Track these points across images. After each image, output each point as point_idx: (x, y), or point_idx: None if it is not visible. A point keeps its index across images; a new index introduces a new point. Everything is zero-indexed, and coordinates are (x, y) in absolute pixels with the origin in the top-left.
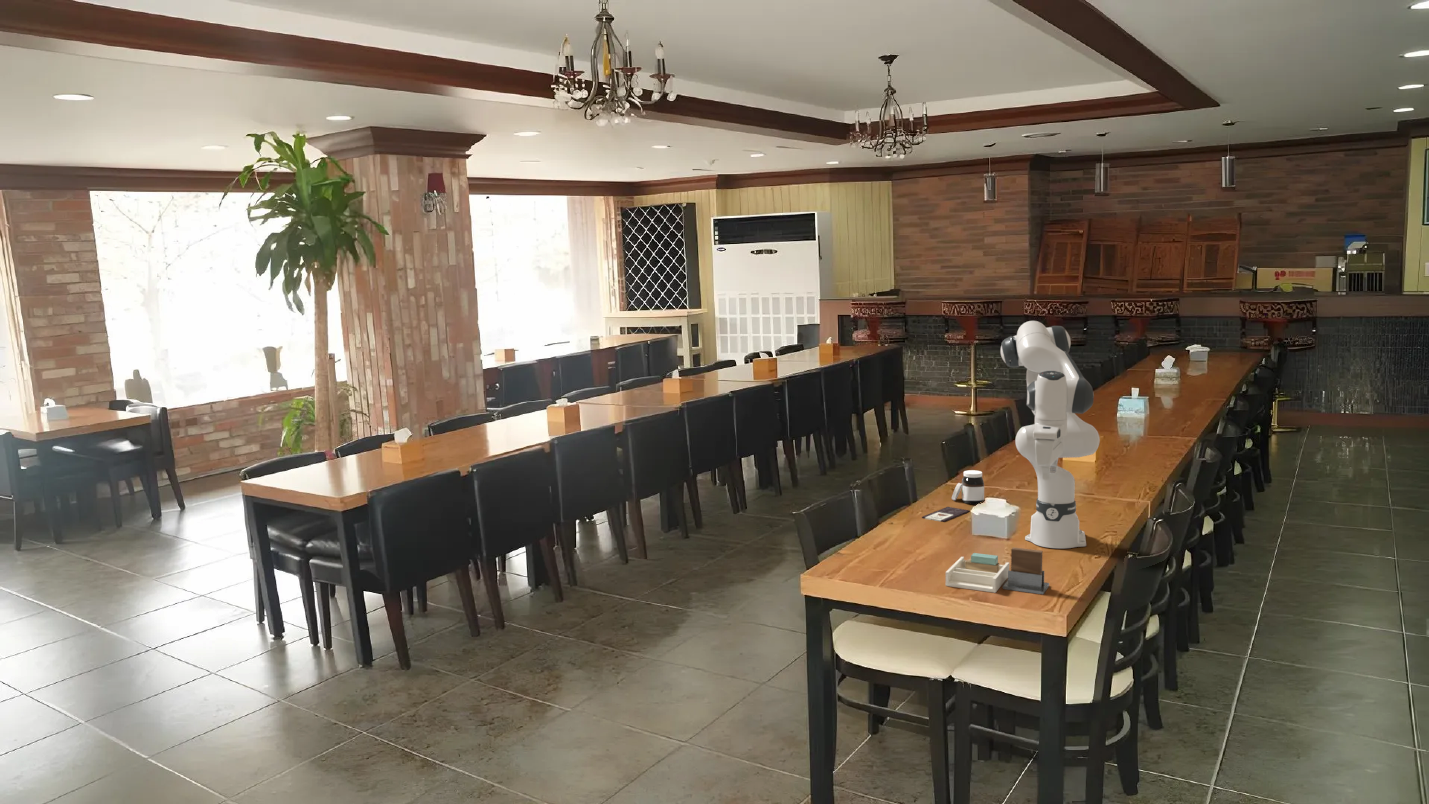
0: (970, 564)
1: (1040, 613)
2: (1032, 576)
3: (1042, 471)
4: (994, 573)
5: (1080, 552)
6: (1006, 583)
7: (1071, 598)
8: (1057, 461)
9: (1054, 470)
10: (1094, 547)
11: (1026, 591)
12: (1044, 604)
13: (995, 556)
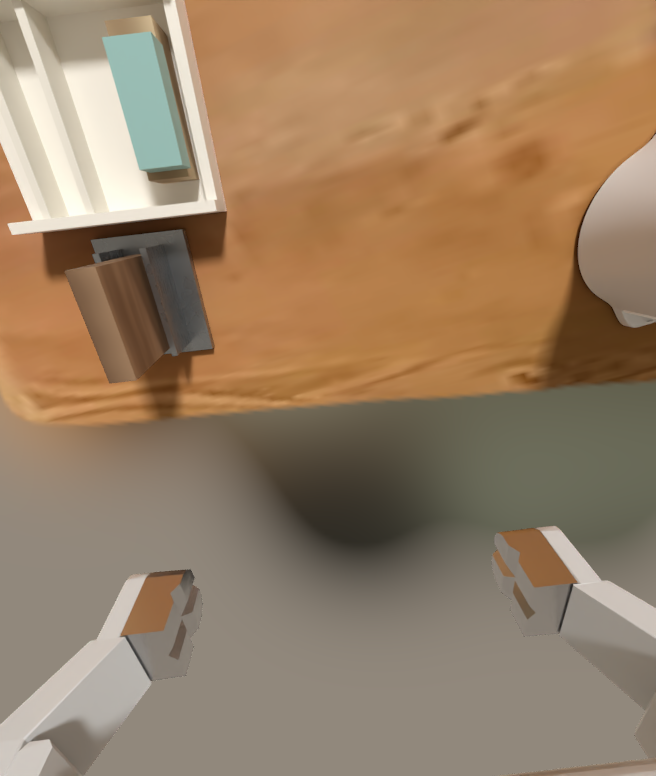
0: None
1: (4, 390)
2: None
3: (55, 674)
4: (83, 200)
5: (560, 328)
6: (123, 241)
7: (160, 416)
8: (642, 704)
9: (507, 587)
10: (621, 347)
11: None
12: (70, 379)
13: (166, 158)
